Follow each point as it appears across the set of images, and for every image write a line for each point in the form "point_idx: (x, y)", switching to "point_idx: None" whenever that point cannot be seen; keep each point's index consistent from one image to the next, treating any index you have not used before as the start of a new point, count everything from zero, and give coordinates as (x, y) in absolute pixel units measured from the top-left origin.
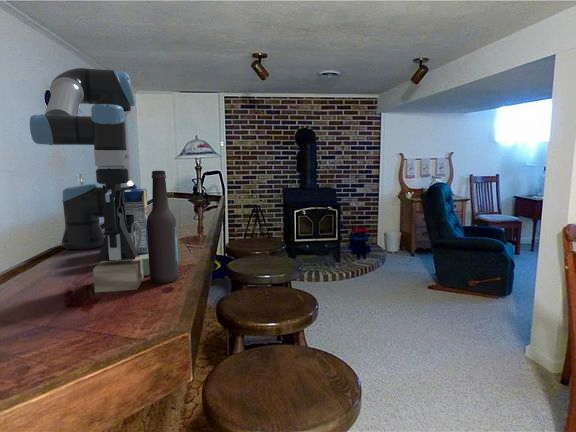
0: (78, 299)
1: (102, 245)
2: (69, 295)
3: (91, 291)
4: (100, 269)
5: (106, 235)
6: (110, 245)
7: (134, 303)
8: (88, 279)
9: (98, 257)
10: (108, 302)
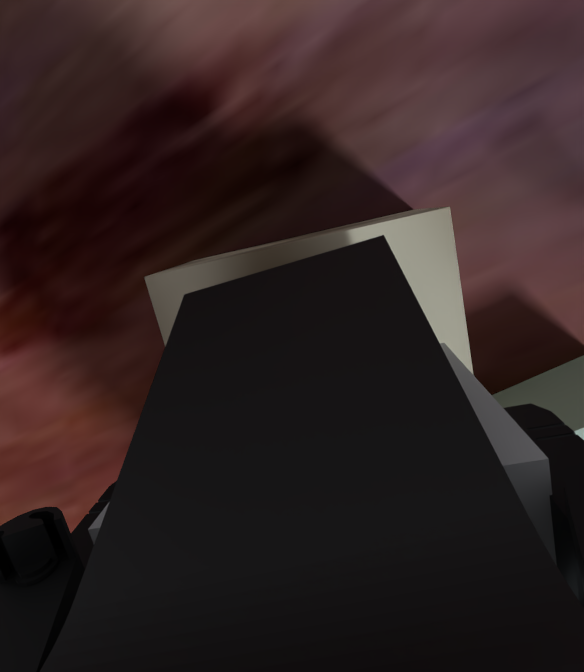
0: (92, 226)
1: (153, 385)
2: (141, 137)
3: (210, 230)
4: (161, 324)
5: (123, 494)
6: (107, 495)
7: (80, 500)
8: (437, 78)
9: (180, 308)
10: (76, 391)
